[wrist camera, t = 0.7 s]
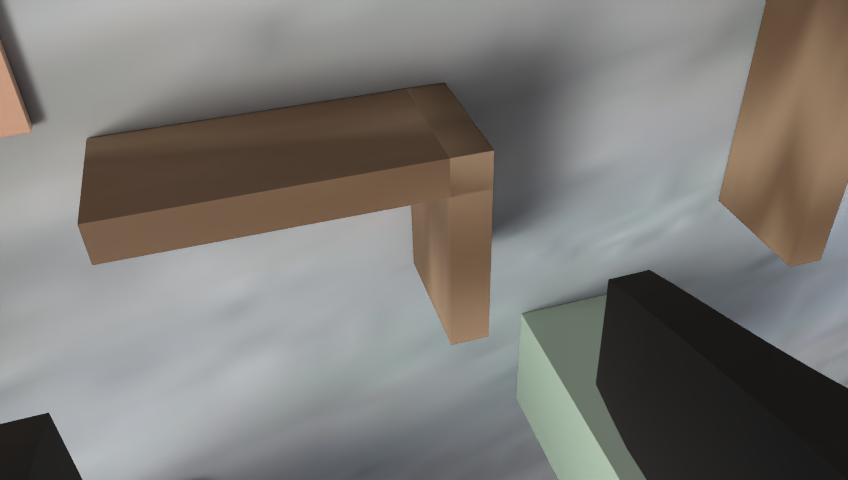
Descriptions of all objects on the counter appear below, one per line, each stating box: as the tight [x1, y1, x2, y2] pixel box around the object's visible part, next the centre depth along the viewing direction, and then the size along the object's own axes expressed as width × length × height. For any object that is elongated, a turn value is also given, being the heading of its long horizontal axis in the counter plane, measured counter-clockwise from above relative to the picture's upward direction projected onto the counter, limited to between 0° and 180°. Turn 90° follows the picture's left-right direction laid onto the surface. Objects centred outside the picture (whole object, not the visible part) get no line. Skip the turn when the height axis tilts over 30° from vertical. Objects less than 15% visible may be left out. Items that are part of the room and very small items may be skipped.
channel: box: [78, 0, 848, 345], centre depth 17 cm, size 16×18×4 cm
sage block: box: [516, 295, 646, 480], centre depth 24 cm, size 4×4×7 cm
